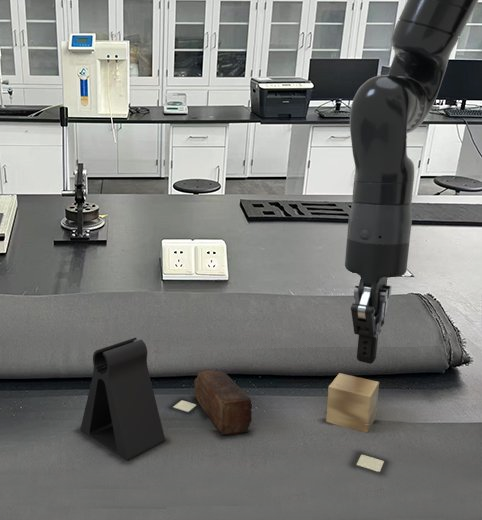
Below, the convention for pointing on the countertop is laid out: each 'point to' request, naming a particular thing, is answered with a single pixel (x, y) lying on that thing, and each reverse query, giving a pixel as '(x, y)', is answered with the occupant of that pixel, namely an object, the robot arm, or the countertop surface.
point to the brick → (223, 402)
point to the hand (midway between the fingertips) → (366, 360)
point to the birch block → (352, 402)
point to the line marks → (363, 462)
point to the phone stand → (122, 401)
